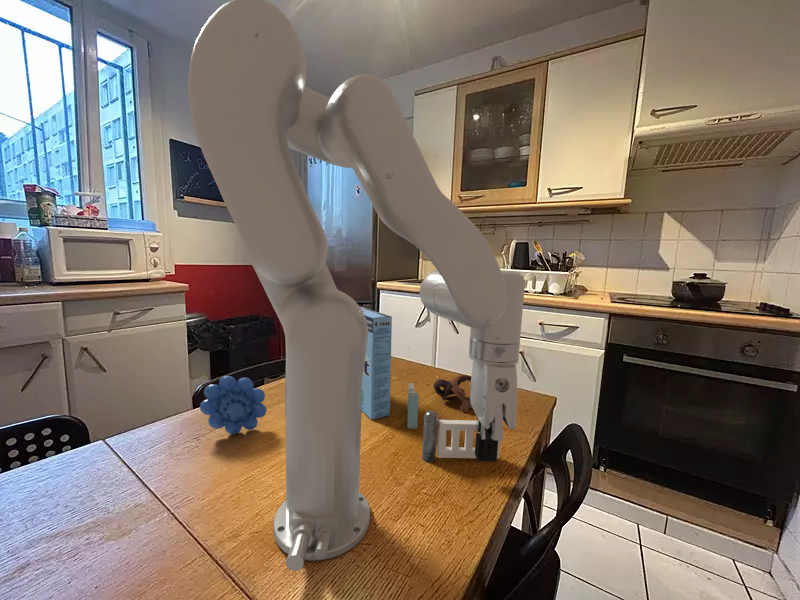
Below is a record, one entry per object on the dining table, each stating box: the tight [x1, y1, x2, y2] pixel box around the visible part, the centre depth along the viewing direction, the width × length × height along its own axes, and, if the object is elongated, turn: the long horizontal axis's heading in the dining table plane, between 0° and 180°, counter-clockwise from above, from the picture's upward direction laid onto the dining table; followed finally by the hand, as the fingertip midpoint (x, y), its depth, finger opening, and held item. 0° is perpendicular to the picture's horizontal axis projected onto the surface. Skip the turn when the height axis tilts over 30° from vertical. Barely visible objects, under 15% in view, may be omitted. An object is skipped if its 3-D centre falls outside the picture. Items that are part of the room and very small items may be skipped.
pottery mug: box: [433, 374, 473, 413], centre depth 84 cm, size 12×10×8 cm
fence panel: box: [406, 382, 416, 410], centre depth 77 cm, size 8×1×6 cm, turn 2°
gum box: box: [359, 305, 393, 421], centre depth 82 cm, size 20×5×23 cm, turn 31°
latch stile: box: [406, 392, 419, 429], centre depth 72 cm, size 2×2×7 cm
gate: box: [436, 419, 501, 460], centre depth 61 cm, size 11×1×7 cm, turn 92°
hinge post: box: [421, 410, 439, 463], centre depth 61 cm, size 3×3×9 cm
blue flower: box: [199, 375, 268, 435], centre depth 66 cm, size 12×7×12 cm, turn 119°
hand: (485, 458), depth 56 cm, fingers closed
